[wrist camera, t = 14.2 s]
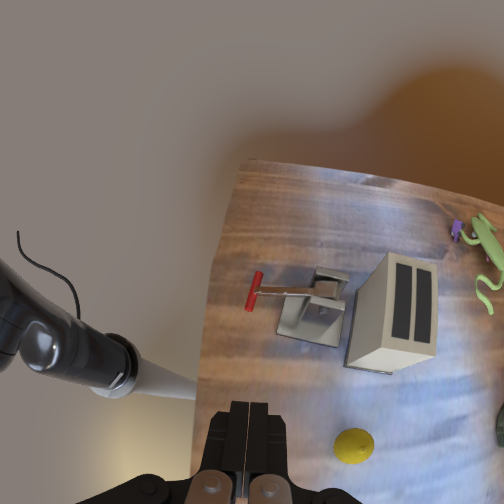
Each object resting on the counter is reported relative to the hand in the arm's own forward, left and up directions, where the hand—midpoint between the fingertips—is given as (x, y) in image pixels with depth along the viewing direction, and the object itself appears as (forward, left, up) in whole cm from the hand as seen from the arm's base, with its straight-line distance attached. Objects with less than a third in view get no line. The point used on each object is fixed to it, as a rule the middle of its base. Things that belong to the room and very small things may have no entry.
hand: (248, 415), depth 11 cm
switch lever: (+2, +16, -24) cm, 29 cm away
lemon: (+15, -3, -32) cm, 36 cm away
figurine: (+44, +36, -32) cm, 66 cm away
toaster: (+16, +16, -32) cm, 39 cm away
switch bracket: (+5, +16, -32) cm, 36 cm away
